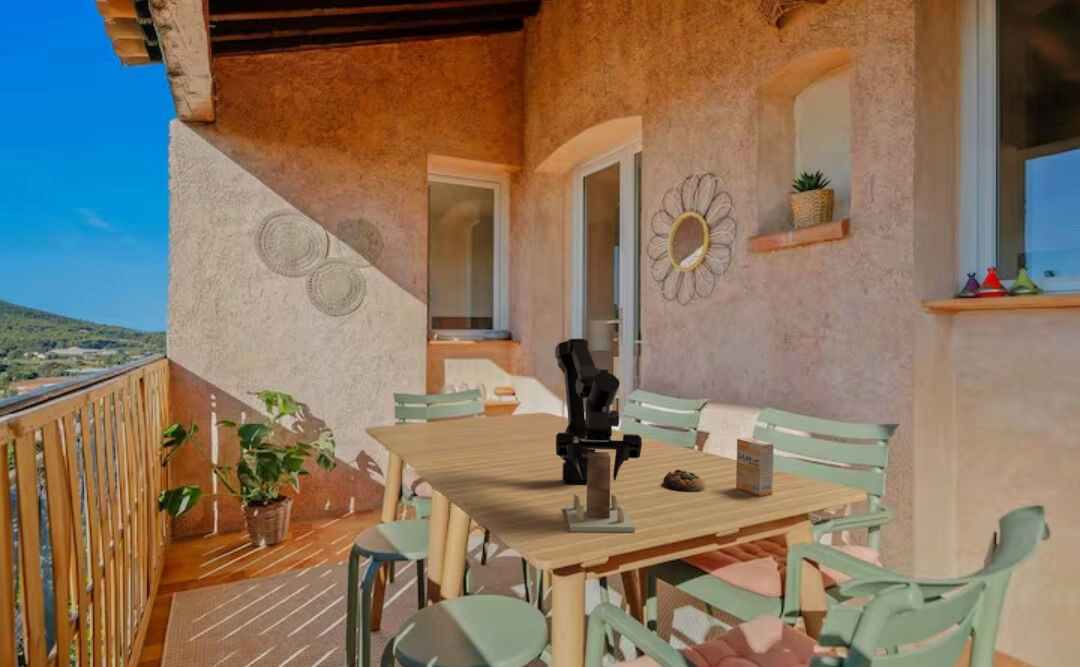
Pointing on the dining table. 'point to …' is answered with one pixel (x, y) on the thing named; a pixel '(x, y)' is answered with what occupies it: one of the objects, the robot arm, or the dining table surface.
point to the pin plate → (584, 524)
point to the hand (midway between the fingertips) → (598, 479)
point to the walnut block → (598, 485)
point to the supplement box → (754, 466)
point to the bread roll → (683, 481)
